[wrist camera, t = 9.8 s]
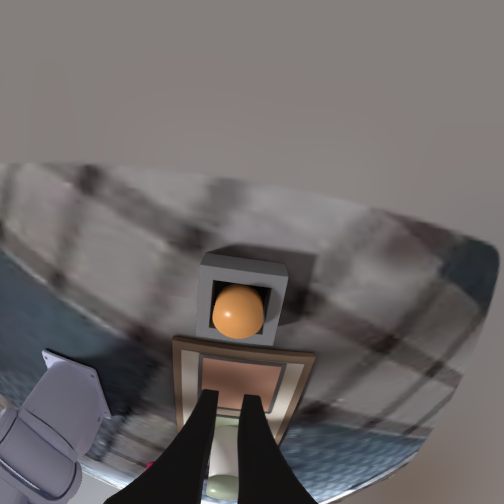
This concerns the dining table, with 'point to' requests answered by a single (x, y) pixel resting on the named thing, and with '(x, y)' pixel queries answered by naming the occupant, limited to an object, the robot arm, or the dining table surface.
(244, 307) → the button
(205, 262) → the button housing
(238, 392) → the picture board
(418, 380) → the dining table surface
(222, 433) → the white and green cylinder
